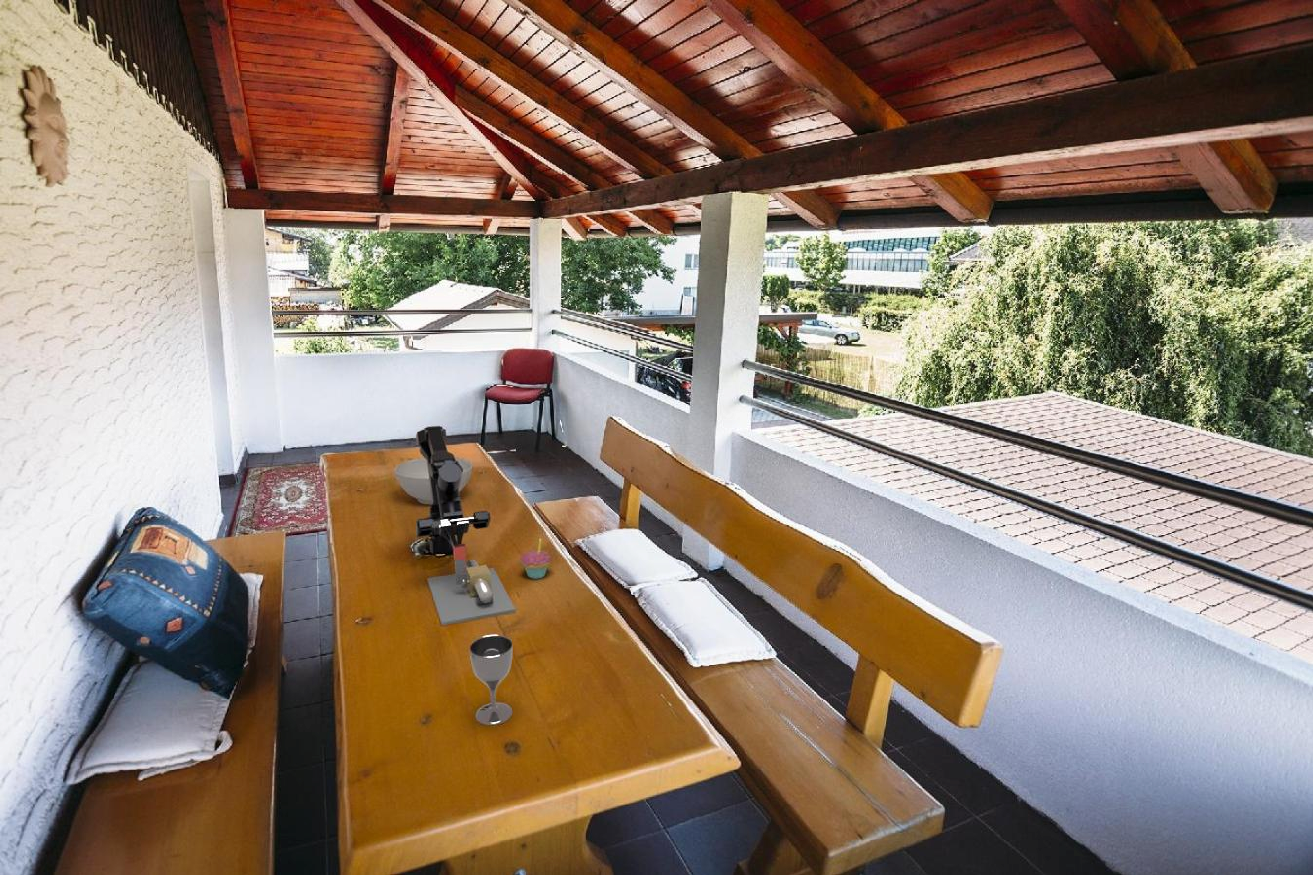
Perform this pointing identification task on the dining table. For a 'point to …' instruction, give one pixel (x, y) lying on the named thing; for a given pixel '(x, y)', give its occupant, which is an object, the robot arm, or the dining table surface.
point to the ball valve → (479, 582)
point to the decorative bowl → (424, 478)
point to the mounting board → (466, 600)
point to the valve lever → (460, 564)
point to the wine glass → (492, 674)
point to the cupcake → (535, 562)
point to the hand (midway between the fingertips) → (458, 553)
